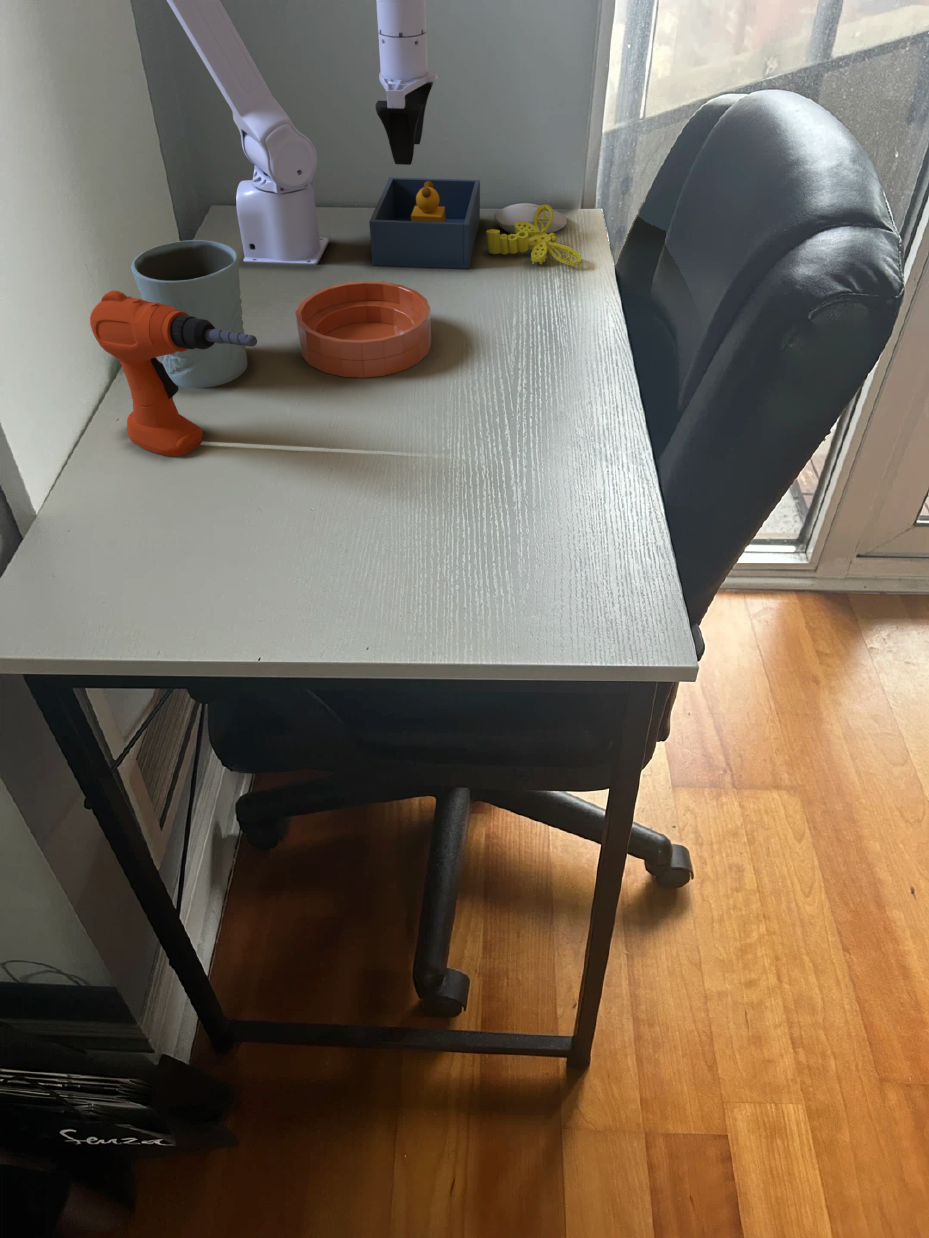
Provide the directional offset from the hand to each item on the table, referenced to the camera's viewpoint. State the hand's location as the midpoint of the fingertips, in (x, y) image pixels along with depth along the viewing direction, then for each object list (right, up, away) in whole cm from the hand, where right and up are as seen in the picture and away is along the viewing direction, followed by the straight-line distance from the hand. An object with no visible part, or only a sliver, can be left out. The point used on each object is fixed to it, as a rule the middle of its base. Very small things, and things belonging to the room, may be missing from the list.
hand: (407, 153), depth 121 cm
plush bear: (+3, -10, +2) cm, 11 cm away
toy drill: (-18, -44, -32) cm, 57 cm away
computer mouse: (+16, -7, +6) cm, 19 cm away
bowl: (-4, -30, -18) cm, 35 cm away
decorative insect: (+15, -15, -4) cm, 21 cm away
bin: (+2, -10, +3) cm, 11 cm away
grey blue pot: (-20, -33, -21) cm, 44 cm away
